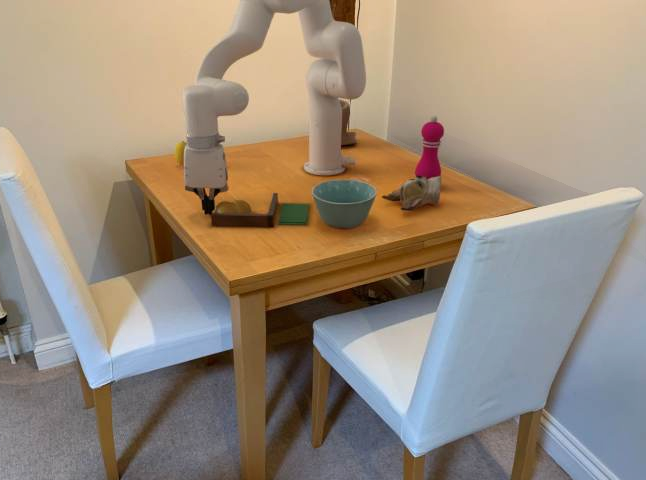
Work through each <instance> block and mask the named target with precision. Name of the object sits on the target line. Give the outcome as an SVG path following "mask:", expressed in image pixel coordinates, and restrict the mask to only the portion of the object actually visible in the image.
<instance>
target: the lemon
mask: <svg viewBox="0 0 646 480" xmlns="http://www.w3.org/2000/svg"><path fill="white" fill-rule="evenodd" d="M186 145H187V141H184V140H181V141H180V142H178V143H177V144H176V145H175V147H174V154H173V155H174V158H175V161H176V162H177V164H179V165H181V166H183V167H184V150H185V146H186Z"/></svg>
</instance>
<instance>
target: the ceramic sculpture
mask: <svg viewBox="0 0 646 480" xmlns="http://www.w3.org/2000/svg"><path fill="white" fill-rule="evenodd" d="M441 188H442V175H441V176H438V177H434V178H430V179H428V180H427V179H426V178H425V177H423V176H421V175H417V176H415V178H410V179H407V180H405V181H404V182H403V183H402V184H401V186H400V187H399V188H397V189H395V190H392V192H391V193H388V194H387V195H384V194H383V195H382V196H381V198H382V199H384V200H387V201H390V202H394V203H395V202H401V203H402V206H401V208H400V210H401V211H404V212H412V211H416V209H417V208H419V207H421V206H423V205H427V204H429V205H437V204H438V202H439V201H440V199H441V198H440V196H441V191H442V189H441Z"/></svg>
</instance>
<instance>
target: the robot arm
mask: <svg viewBox="0 0 646 480" xmlns="http://www.w3.org/2000/svg"><path fill="white" fill-rule="evenodd" d="M331 7H332V6H331V2H330V0H239V2H238V5H237V8H236V10H235V13H234V15H233V19H232V21H231V23H230V27H229V29H228V30H227V32H226V33H225V34H224V35H223V36H222V37H221V38H220V39H218V41H217V42H216V43H215V44H214V45H213V46H212V47H211V48H210V49H209V51H208V52H207V53H206V54H205V56H204V58H203V59H202V61H201V63H200V65H199V68H198V71H197V73H196V77H195V79H194V83H193V84H191V85H188V86H185V87H184V88H183V90H182V106H183V116H184V117H183V119H184V126H185V137H186V143H187V145H186V146H185V150H184V166H183V177H184V178H183V179H184V185H185V186H184V190H185V191H187V192H191V193H194V194H195V195H196V196H197V197H198V198H199V200H200V201H201V210H202V211H204V215H205V216H208V215H209V216H211V213H214V211H215V210H216V203H215V198H216V197H217V196H218V195H219V194H220V193H226V192H228V191H229V189H230V187H229V183H228V180H229V173H228V171H229V170H228V165H227V157H226V152H225V148H224V146H223V144H222V143H225V142H226V136H224V135H221V134H220V132H219V124H218V123H219V119H218V118H219V117H230V116H236V115H237V116H238V115H239V114H242V113H243V112H244V111H245V110H246V109H247V107H248V105H249V101H250V96H249V95H250V94H249V92H248V90H247V89H246V87H244V85H242V84H240V83H238V82H235V81H231V80H226V79H223V78H224V76H225V74H226V72H227V71H228V70H229V68H230V67H231V66H232V65H234V64H235V63H236V62H237V61H240V60H241V59H243V58H245V57H249V56H251V55H252V54H254V53H256V52H258V51H260V50H261V49H262V48H263V46H264V43H265V41H266V38H267V35H268V33H269V30H270V27H271V24H272V21H273V19H274V16H275V14H285V15H290V14H295V13H298V17H299V22H300V28H301V33H302V38H303V42H304V47H305V50H306V52H307V54H308V55H309V56H311V57H313V58H318V59H316V60H313V61H312V62H311V63H310V64H309V65H308V67H307V69H306V73H305V74H306V75H305V81H306V87H307V93H308V102H309V103H308V104H309V117H308V118H309V120H308V121H309V128H308V129H309V132H308V138H309V139H308V161H306V162H305V163H304V164H303V170H304V171H305V172H306V173H308V174H311V175H315V176H324V177H327V176H336V175H339V174H342V173H344V172H345V171H346V165H347V166H356V160H357V159H356V158H352V156H344V155H342V154H343V153H342V145H341V130H342V107H341V104H340V101H339V99H342V100H352V101H353V100H357V99H359V98H360V97H361V96H362V95H363V94H364V92H365V89H366V86H367V72H366V64H365V54H364V48H363V47H364V46H363V41H362V40H363V39H362V36H361V33H360V31H359V29H358V27H357V26H356V25H354V24H353V23H351V22H346V21H338V20H335V18H334V17H333V12H332V9H331ZM206 189H209V191H208V194H207V191H206Z"/></svg>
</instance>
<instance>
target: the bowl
mask: <svg viewBox="0 0 646 480" xmlns="http://www.w3.org/2000/svg"><path fill="white" fill-rule="evenodd" d="M311 194H312V197H313V201H314V204H315V207H316V209H317V212H318V215H319V217H320V219H321V221H322V222H324V224H326V225H328V226H329V227H332V228H335V229H340V230H347V229H348V230H349V229H354V228H356V227H359V226H360V225H361V224H363V223H364V222H365V221H366V220H367V218H368V216H369V213H370V211H371V209H372V207H373V204H374V202H375V199H376V197H377V194H378V191H377V189H376V187H375V186H373V185H372V184H370V183H368V182H365V181H361V180H356V179H331V180H330V179H329V180H325V181H322V182H319V183H317V184H315V185H314V186H313V187H312V189H311Z"/></svg>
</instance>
